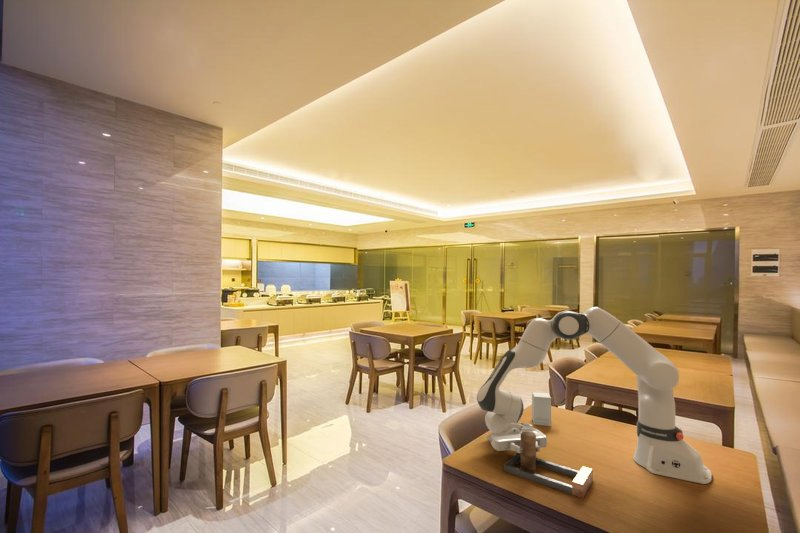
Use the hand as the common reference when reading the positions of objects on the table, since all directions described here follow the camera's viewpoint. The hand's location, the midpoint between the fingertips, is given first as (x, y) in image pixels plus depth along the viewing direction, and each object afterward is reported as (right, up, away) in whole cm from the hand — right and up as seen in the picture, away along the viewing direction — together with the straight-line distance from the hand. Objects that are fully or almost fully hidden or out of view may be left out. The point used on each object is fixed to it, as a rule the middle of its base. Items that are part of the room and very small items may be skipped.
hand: (529, 450), depth 132 cm
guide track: (+5, -7, -3) cm, 9 cm away
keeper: (0, -7, +1) cm, 7 cm away
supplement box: (+20, -8, +43) cm, 49 cm away
